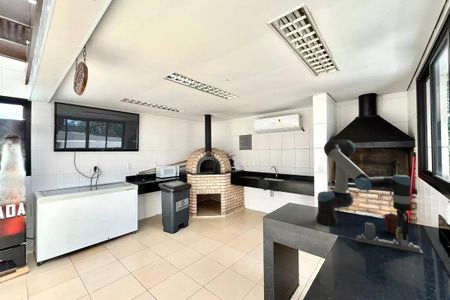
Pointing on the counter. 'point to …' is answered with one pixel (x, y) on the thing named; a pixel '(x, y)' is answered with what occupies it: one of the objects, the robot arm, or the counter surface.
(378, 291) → the counter surface
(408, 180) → the robot arm
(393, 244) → the rail
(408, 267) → the counter surface
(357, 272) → the counter surface
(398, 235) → the pale blue-grey block
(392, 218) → the mechanical component
